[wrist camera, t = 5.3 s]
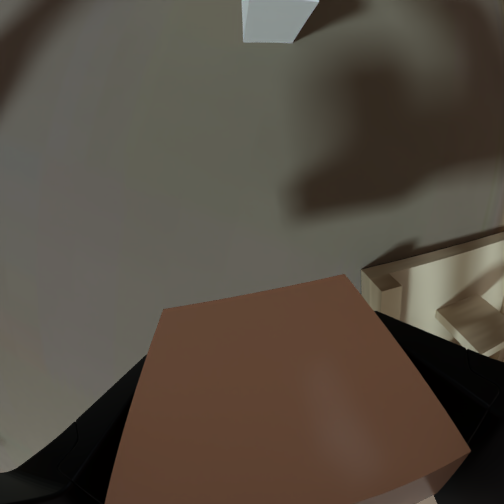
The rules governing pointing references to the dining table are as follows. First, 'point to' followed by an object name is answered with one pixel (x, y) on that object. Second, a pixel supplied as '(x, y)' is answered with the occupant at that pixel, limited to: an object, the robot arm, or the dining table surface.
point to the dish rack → (446, 293)
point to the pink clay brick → (282, 407)
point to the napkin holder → (275, 19)
